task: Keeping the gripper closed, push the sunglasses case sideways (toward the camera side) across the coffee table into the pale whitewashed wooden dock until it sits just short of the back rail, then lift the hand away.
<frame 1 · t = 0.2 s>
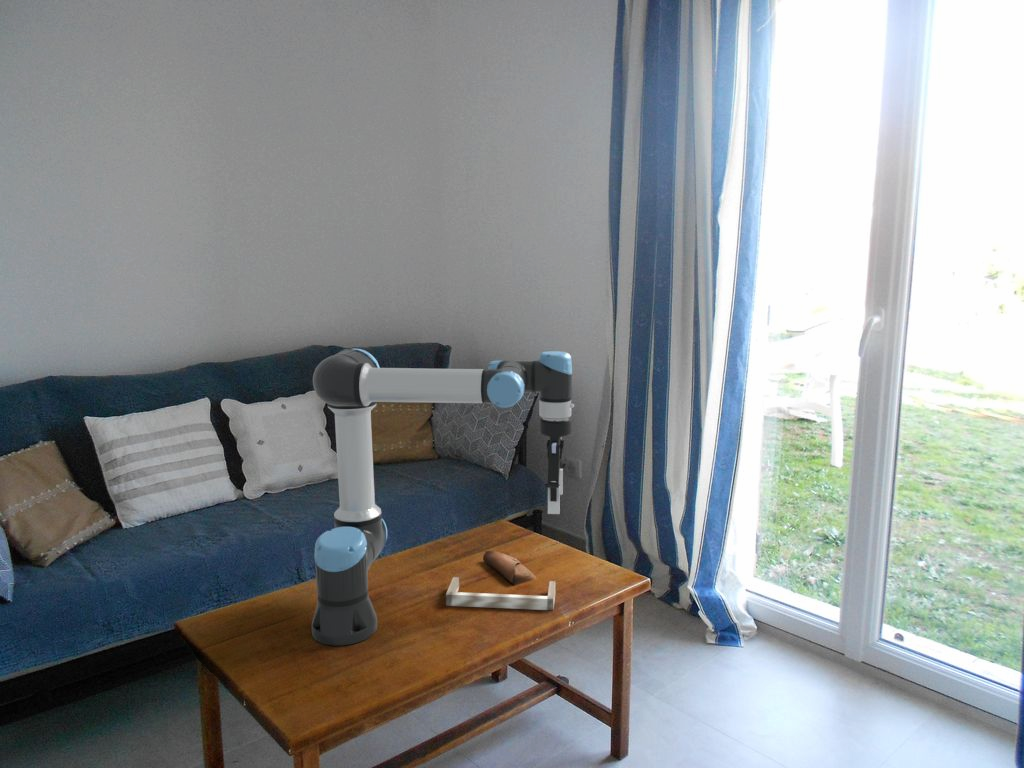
hand: (555, 503, 180), 28 cm above the table, fingers open, 13 cm apart
sunglasses case: (510, 572, 209), on the table
dock: (501, 598, 192), on the table
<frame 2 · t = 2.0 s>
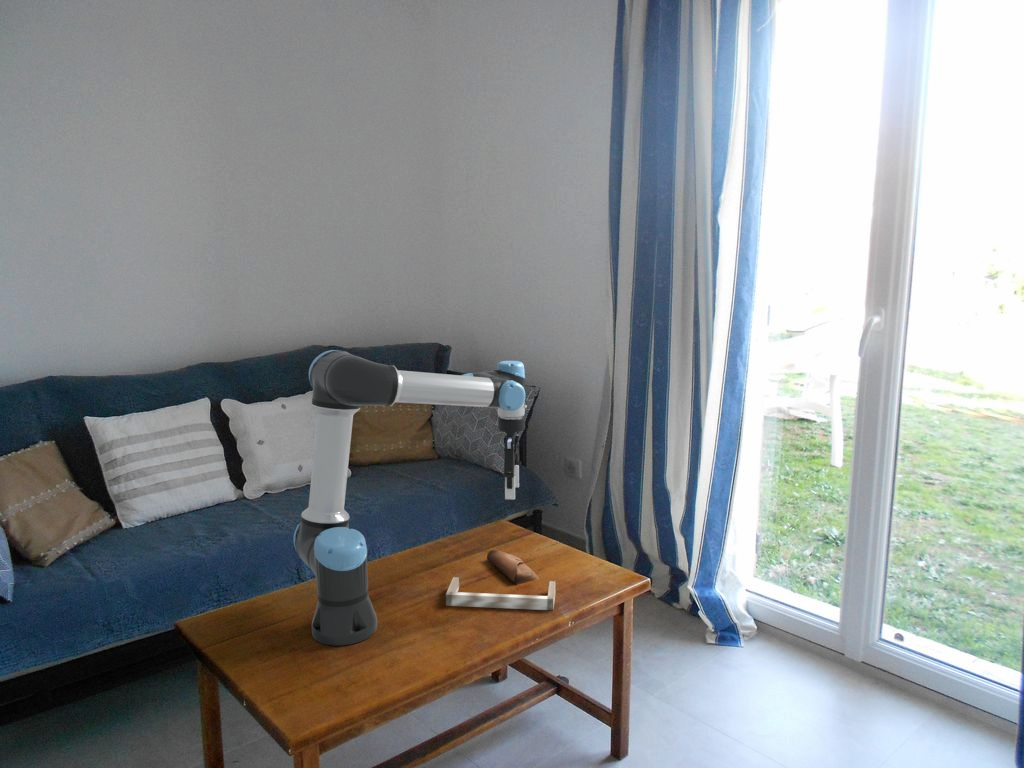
hand: (512, 492, 213), 20 cm above the table, fingers open, 10 cm apart
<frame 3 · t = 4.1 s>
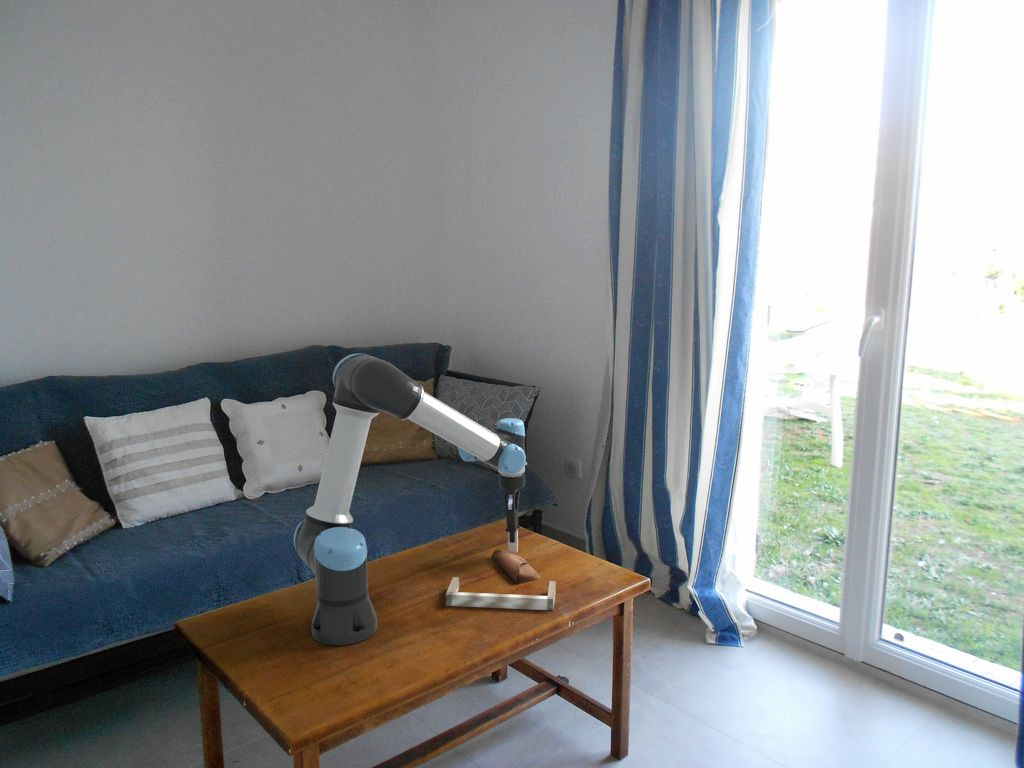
hand: (513, 551, 216), 2 cm above the table, fingers closed
sunglasses case: (516, 572, 209), on the table, touching gripper
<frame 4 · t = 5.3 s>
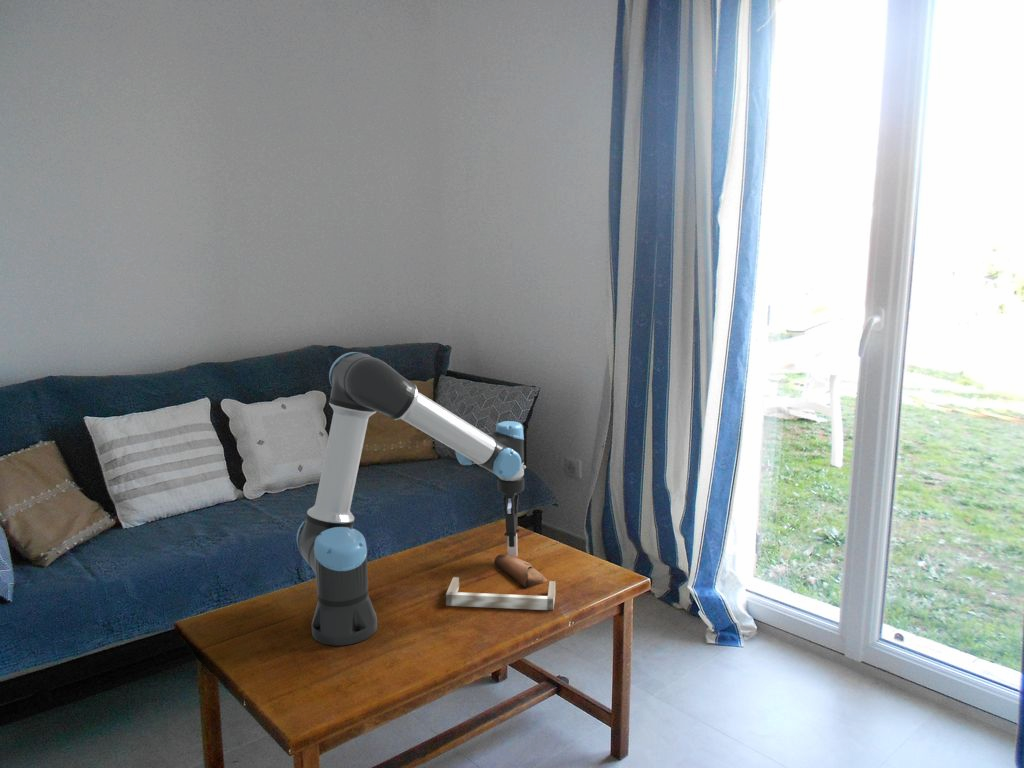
hand: (512, 555, 214), 2 cm above the table, fingers closed
sunglasses case: (522, 576, 207), on the table, touching gripper
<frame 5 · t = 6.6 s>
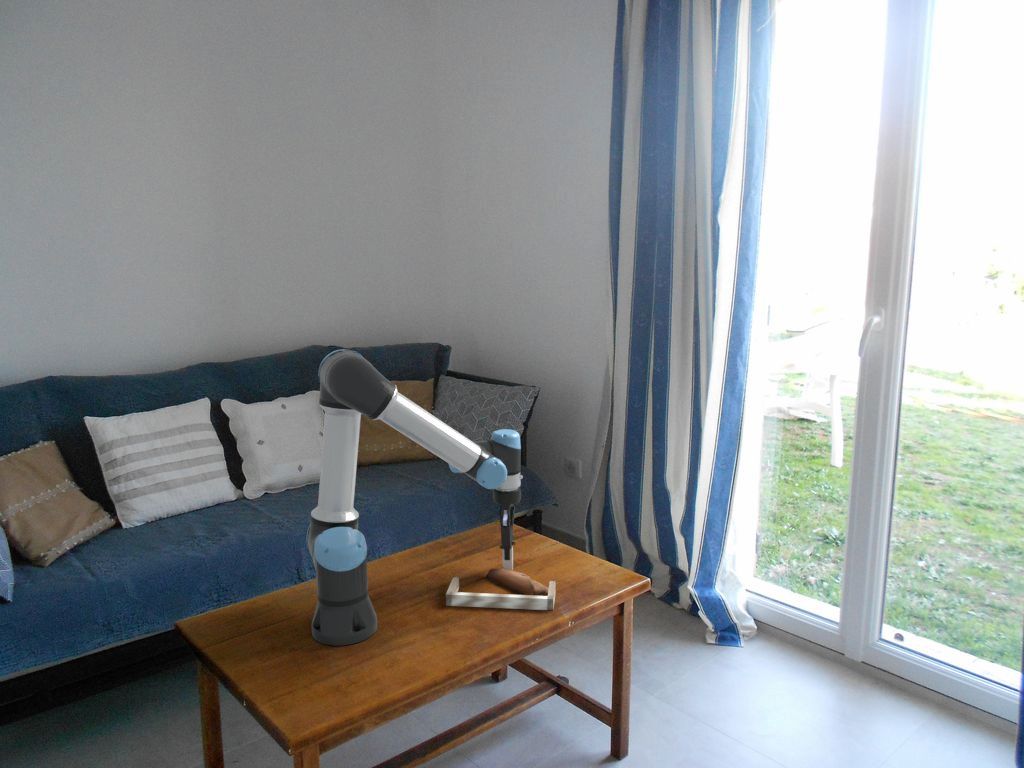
hand: (507, 569, 206), 1 cm above the table, fingers closed
sunglasses case: (519, 588, 200), on the table, touching gripper
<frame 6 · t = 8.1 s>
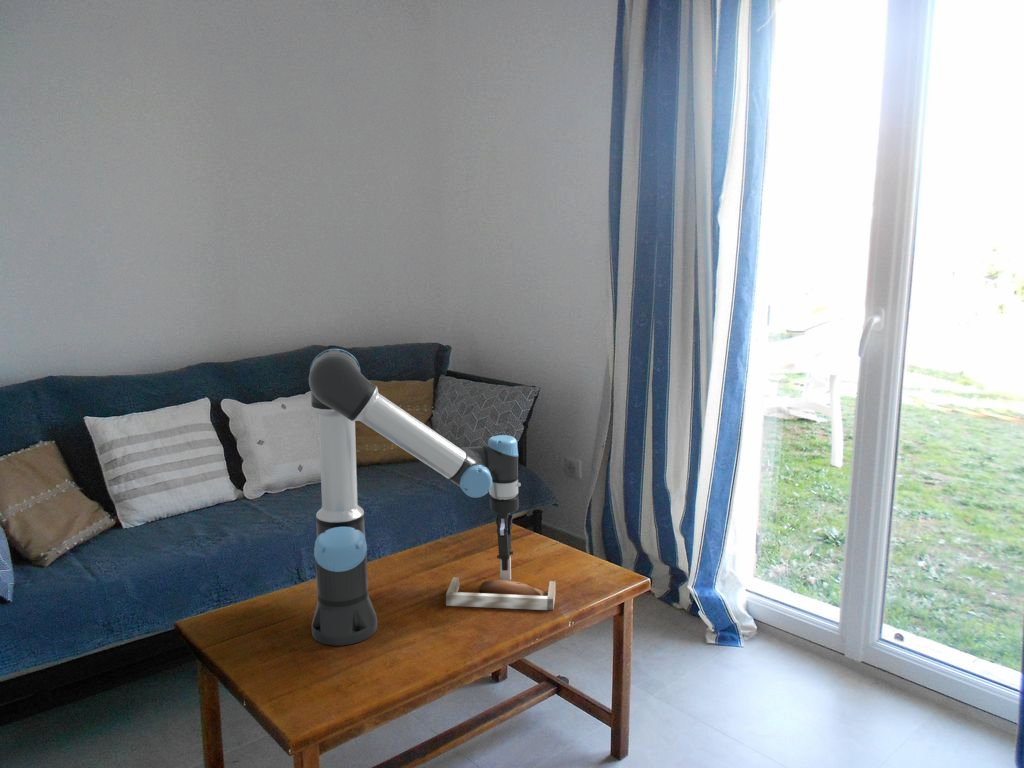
hand: (505, 579, 199), 2 cm above the table, fingers closed
sunglasses case: (516, 597, 195), on the table, touching gripper
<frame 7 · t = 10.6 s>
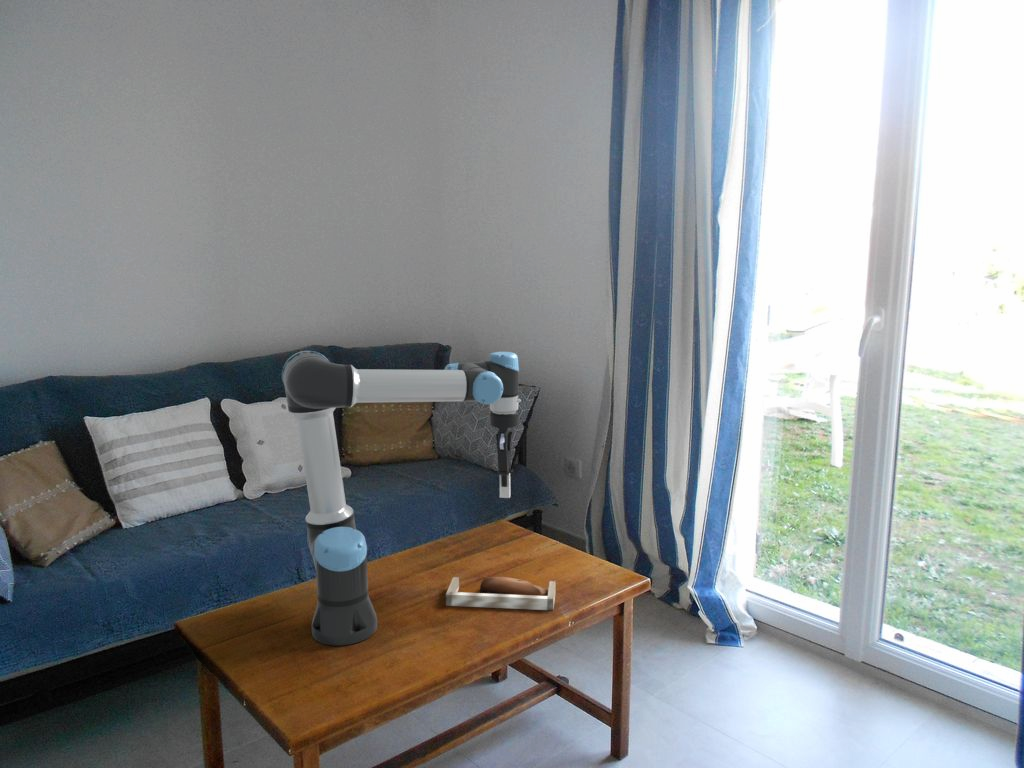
hand: (505, 496, 201), 23 cm above the table, fingers closed
sunglasses case: (517, 594, 195), on the table
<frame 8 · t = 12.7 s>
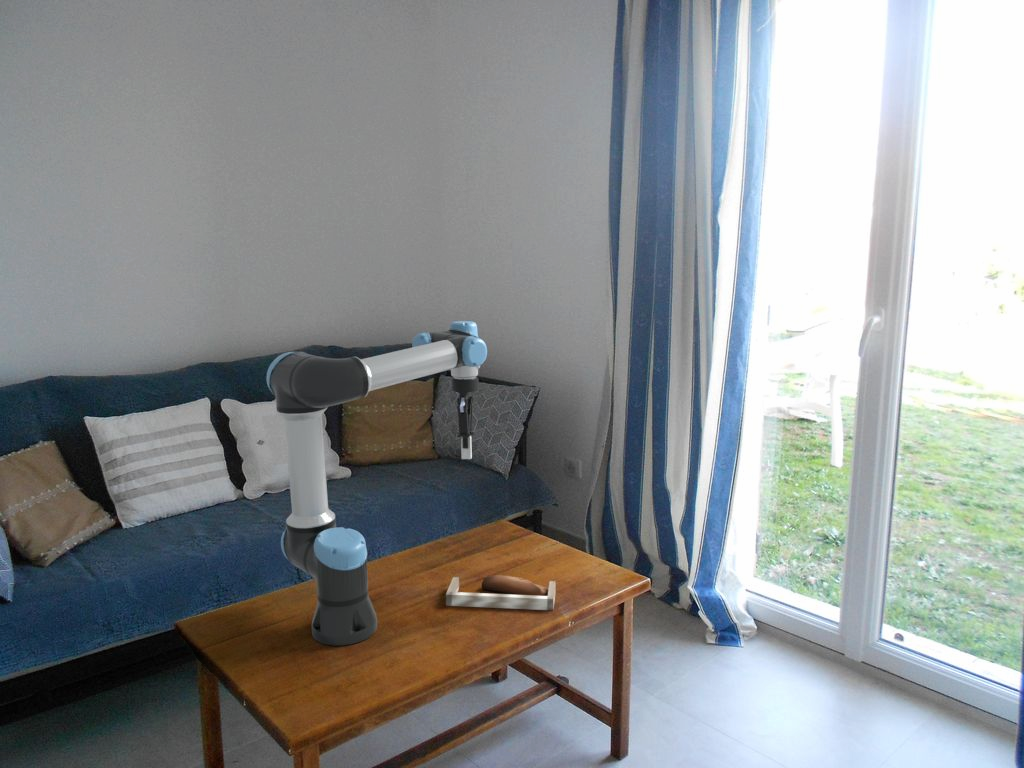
hand: (466, 458, 213), 29 cm above the table, fingers closed
at the end: sunglasses case inside the target area (5.0 cm from its centre), on the table; sunglasses case moved 12.8 cm from its start; the gripper is holding nothing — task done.
